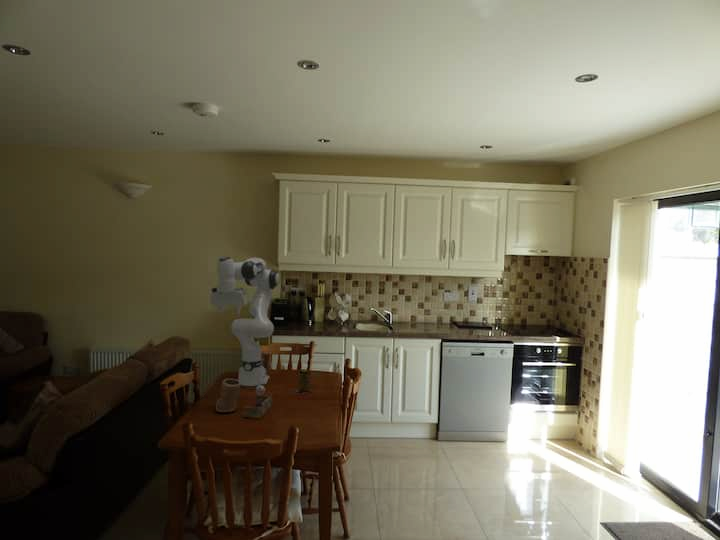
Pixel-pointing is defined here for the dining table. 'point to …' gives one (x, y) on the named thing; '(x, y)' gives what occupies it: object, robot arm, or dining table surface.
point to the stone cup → (228, 395)
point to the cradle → (262, 401)
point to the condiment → (303, 381)
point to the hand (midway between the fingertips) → (230, 314)
